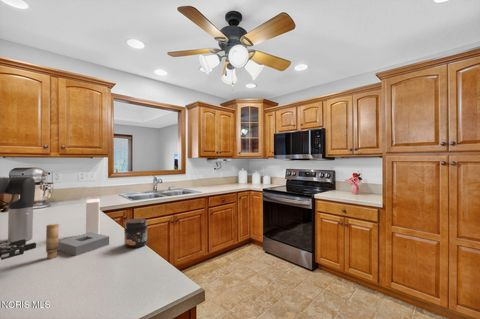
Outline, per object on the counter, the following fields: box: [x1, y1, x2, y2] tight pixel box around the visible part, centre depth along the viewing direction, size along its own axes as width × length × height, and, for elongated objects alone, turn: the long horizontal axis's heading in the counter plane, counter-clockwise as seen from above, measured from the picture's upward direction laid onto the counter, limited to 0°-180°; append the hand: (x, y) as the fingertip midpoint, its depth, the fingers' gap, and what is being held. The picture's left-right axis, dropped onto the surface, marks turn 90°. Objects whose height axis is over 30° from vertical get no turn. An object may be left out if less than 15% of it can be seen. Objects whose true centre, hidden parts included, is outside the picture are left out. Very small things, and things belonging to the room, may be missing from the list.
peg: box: [45, 223, 60, 260], centre depth 96 cm, size 4×4×14 cm
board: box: [57, 232, 110, 256], centre depth 108 cm, size 15×15×4 cm
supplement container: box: [123, 218, 148, 249], centre depth 111 cm, size 10×10×12 cm
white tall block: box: [85, 195, 101, 234], centre depth 126 cm, size 6×6×22 cm
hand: (30, 243), depth 89 cm, fingers open, 8 cm apart
